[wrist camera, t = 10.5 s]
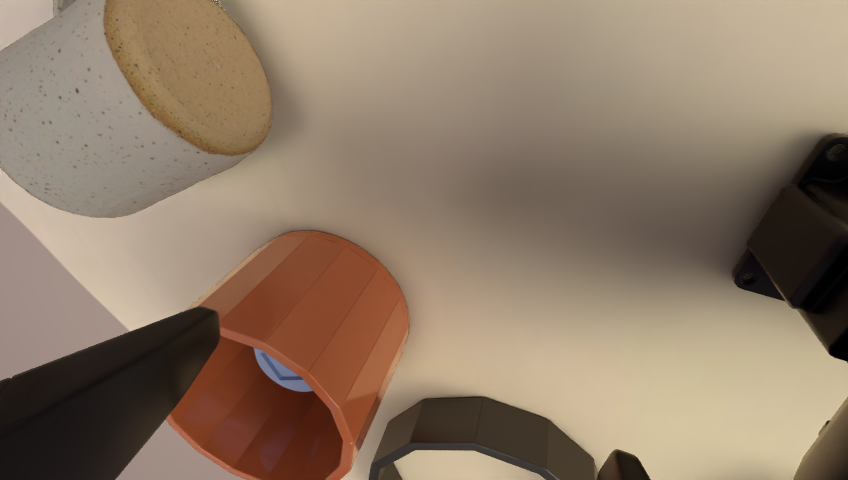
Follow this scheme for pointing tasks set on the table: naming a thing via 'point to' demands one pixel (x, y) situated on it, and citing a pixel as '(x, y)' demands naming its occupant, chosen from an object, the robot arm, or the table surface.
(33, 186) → the ceramic mug
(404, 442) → the dark grey ring
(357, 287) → the terracotta cup
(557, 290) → the table surface
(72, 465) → the robot arm
